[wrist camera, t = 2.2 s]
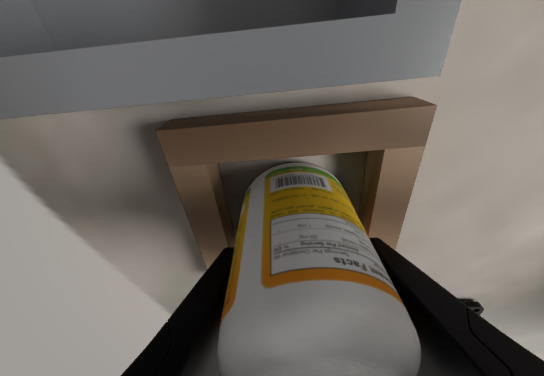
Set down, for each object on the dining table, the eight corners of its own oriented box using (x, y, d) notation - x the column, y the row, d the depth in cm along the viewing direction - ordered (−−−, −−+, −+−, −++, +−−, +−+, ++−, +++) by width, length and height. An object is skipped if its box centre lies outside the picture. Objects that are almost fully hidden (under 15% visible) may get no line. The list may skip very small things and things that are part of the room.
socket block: (375, 262, 14) (385, 283, 13) (220, 271, 15) (216, 293, 14) (413, 96, 9) (436, 104, 8) (170, 119, 9) (155, 131, 8)
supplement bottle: (286, 254, 14) (309, 552, 6) (221, 202, 12) (106, 561, 4) (364, 208, 12) (564, 558, 4) (303, 136, 10) (459, 577, 2)
